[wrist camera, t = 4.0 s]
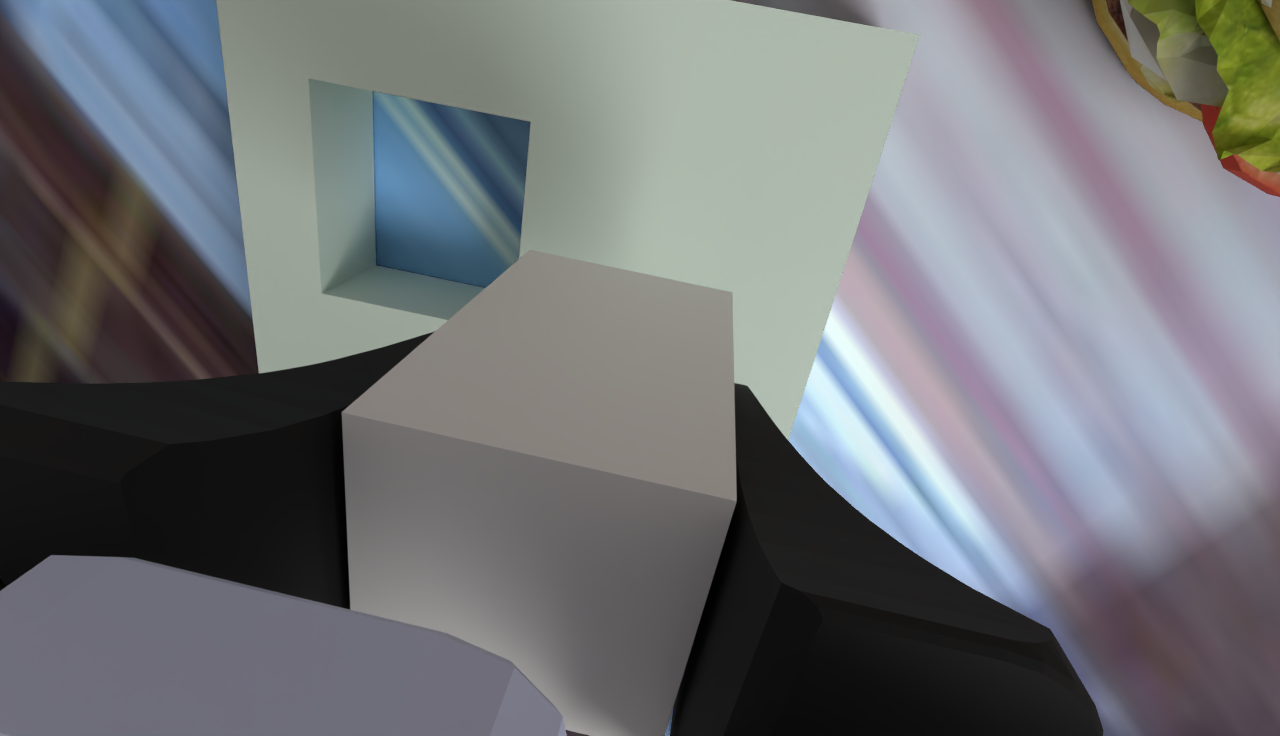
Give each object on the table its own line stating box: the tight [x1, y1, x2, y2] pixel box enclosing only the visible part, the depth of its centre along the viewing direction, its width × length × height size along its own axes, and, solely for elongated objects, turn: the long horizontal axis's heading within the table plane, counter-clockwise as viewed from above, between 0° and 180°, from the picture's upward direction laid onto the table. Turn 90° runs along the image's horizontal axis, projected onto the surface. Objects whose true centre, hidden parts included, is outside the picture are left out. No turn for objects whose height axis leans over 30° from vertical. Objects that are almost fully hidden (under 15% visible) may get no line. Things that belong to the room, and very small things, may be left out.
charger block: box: [342, 250, 737, 736], centre depth 10 cm, size 4×4×6 cm
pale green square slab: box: [216, 0, 920, 440], centre depth 18 cm, size 16×16×3 cm
